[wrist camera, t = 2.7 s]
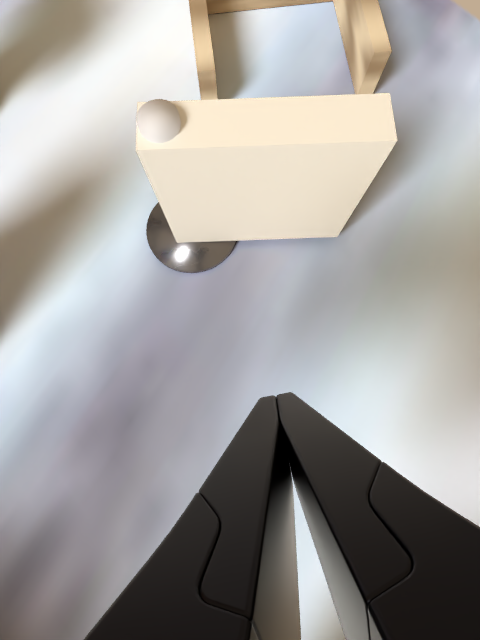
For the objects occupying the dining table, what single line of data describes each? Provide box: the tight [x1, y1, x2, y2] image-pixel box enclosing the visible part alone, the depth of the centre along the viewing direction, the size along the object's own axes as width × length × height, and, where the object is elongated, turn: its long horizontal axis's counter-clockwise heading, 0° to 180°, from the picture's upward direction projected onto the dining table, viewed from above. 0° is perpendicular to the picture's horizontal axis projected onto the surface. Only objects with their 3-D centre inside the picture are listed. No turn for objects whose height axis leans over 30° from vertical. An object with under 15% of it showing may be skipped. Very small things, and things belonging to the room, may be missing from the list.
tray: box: [189, 0, 392, 100], centre depth 25 cm, size 11×13×4 cm
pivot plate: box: [146, 202, 236, 273], centre depth 23 cm, size 6×6×1 cm
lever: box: [136, 93, 397, 243], centre depth 18 cm, size 2×11×9 cm, turn 92°
